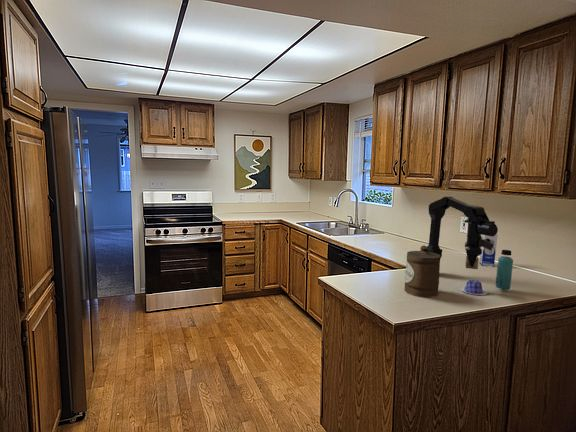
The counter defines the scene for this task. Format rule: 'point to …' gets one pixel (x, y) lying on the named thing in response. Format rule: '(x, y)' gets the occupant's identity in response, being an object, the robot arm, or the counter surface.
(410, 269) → the wooden container
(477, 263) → the walnut block
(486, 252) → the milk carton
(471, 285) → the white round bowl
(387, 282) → the counter surface
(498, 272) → the beverage bottle
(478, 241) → the robot arm
